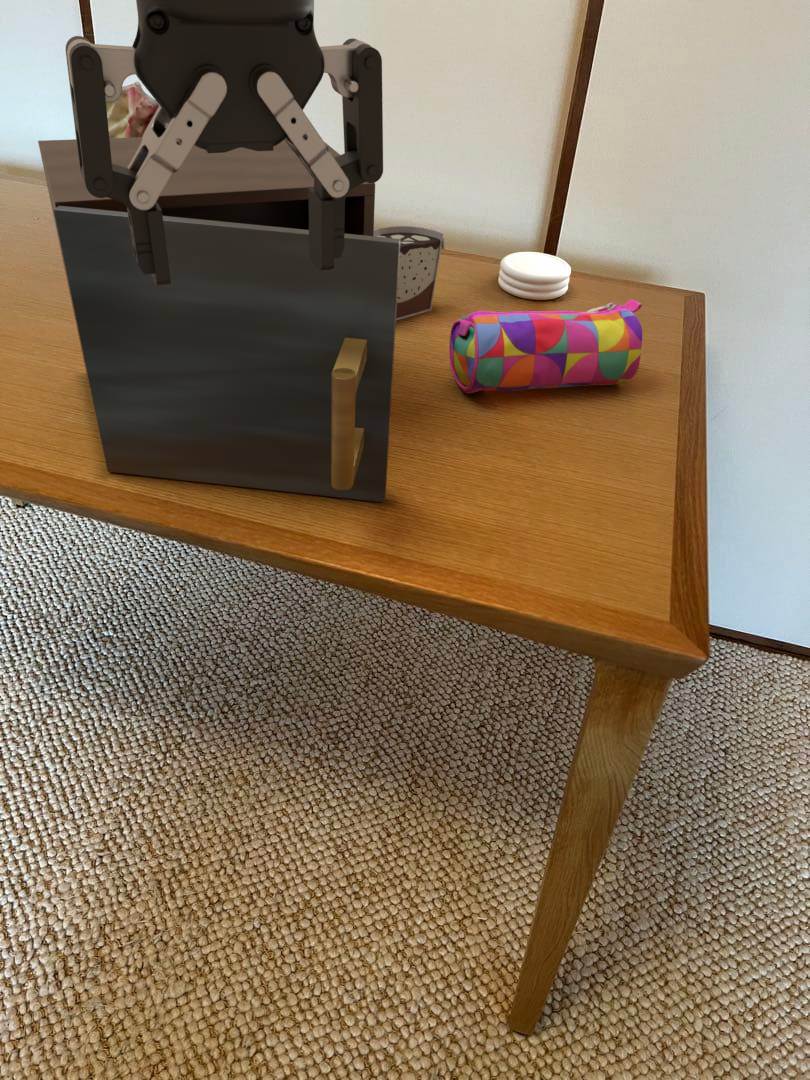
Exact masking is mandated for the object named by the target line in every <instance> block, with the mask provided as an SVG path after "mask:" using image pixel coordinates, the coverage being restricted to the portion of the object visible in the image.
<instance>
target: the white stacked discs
mask: <svg viewBox="0 0 810 1080" xmlns="http://www.w3.org/2000/svg"><path fill="white" fill-rule="evenodd" d="M499 265H500V269H499V270H498V271H499V272H498V274H499V276H498V279H497V282H498V285H499V286H500V288H501V289H502V290H503V291H505V293H508V294H510V295H512V296H513V297H514V296H515V297H518V298H521V299H527V300H531V301H532V300H534V301H547V300H554V299H558V298H560V297H562V296H564V295H565V294H566V293H567V292H568V290H569V282H570V276H571V274H572V268H571V266H570V264H569V263H567V262H566V261H565V260H564V259H562V258H560V257H558V256H556V255H553V254H549V253H545V252H535V251H519V252H513V253H510V254H507V255H506V256H504V257H503V258H502V259H501V261H500V264H499Z"/></svg>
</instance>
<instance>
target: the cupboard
mask: <svg viewBox="0 0 810 1080" xmlns="http://www.w3.org/2000/svg"><path fill="white" fill-rule="evenodd" d="M109 140H110V150H111V160H112V164H116V165H119V166H122V167H125V168H127V167H128V165H129V164H130V162H131V160H132V158H133V157H134V155H135V153H136V151H137V150H138V148H139V146H140V144H141V142H142V137H132V138H109ZM179 141H180V139H177V141H176V142H179ZM37 144H38V149H39V152H40V158H41V163H42V166H43V173H44V177H45V182H46V187H47V192H48V195H49V201H50V207H51V210H52V215H53V221H54V225H55V229H56V230H55V231H56V236H57V240H58V243H59V248H60V253H61V258H62V263H63V267H64V273H65V277H66V278H65V279H66V282H67V287H68V292H69V296H70V297H69V298H70V302H71V307H72V311H73V316H74V321H75V326H76V330H77V335H78V336H77V337H78V341H79V346H80V350H81V355H82V359H83V364H84V369H85V375H86V378H87V383H88V387H89V391H90V392H91V389H90V384H89V379H88V374H87V369H86V365H85V360H84V355H83V350H82V345H81V340H80V336H79V331H78V326H77V321H76V316H75V311H74V307H73V302H72V297H71V292H70V287H69V283H68V278H67V273H66V268H65V263H64V258H63V254H62V249H61V244H60V239H59V234H58V229H57V225H56V220H55V215H54V209H55V208H56V207H58V206H68V207H78V208H88V209H99V210H109V211H119V212H128V211H127V206H126V205H125V204H123V203H122V202H120V201H118V200H115V199H111V198H108V197H105V198H97V197H95V196H93V195H92V194H90V193H89V191H88V190H87V188H86V185H85V182H84V180H83V177H82V174H81V172H80V166H79V158H78V150H77V141H76V138H75V139H50V140H49V139H48V140H38V141H37ZM325 144H326V145H327V147H328V150H329V152H330V153H331V155H332V156H333V157H334V158H335V157H337V156H340V155H341V154H340V153H339V152H338V151H336V150H335V149H334V148H332V146H330V145H329V144H328V143H327V142H325ZM308 188H314V179H313V177H312V176H311V175H310V173H309V172H308V170H307V169H306V168H305V166H304V165H303V164H302V162H301V161H300V159H299V158H298V157H297V155H296V154H295V153H294V152H293V150H292V149H291V148H290V147H289V145H288V144H287V143H286V142H285V140H283V141H282V142H281V143H279V144H278V145H276V146H273V151H255V150H251V149H247V148H243V147H240V148H236V149H234V150H231V151H228V152H225V153H207V151H206V150H205V149H201V148H199V147H197V146H195V145H194V146H193V148H192V149H191V151H190V153H189V154H188V156H187V158H186V159H185V161H184V163H183V164H182V166H181V168H180V169H179V170H178V171H177V172H175V173H174V174H173V175H172V176H171V178H170V180H169V181H168V183H167V185H166V186H165V188H164V190H163V191H162V193H161V195H160V196H159V198H158V200H157V203H158V205H159V206H160V208H161V210H162V215H163V216H170V217H180V218H191V219H201V220H211V221H221V222H232V223H242V224H252V225H262V226H273V227H283V228H293V229H303V230H309V195H308ZM375 203H376V182H375V183H368V182H364V183H362V184H360V185H358V186H356V187H354V188H352V189H351V190H350V191H349V192H348V194H347V196H346V199H345V228H344V230H345V234H354V235H365V236H373V235H374V230H375V205H376V204H375ZM90 395H91V396H92V394H91V393H90ZM91 398H92V397H91ZM91 400H93V398H92V399H91ZM92 403H93V402H92ZM93 405H94V403H93Z"/></svg>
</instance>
